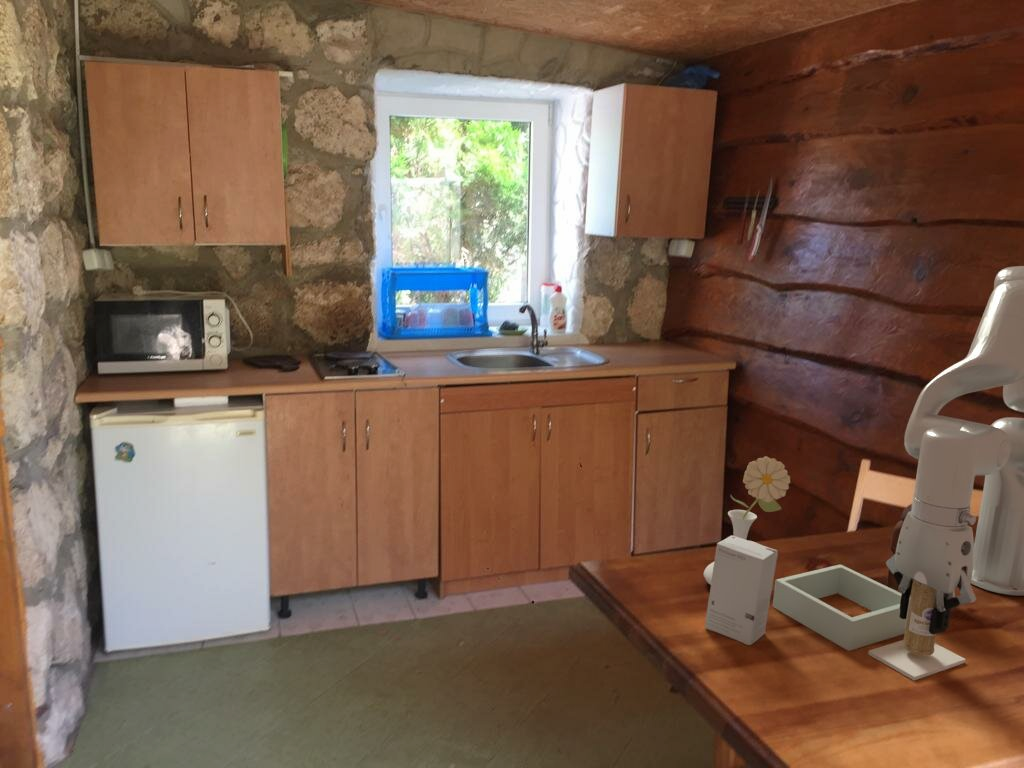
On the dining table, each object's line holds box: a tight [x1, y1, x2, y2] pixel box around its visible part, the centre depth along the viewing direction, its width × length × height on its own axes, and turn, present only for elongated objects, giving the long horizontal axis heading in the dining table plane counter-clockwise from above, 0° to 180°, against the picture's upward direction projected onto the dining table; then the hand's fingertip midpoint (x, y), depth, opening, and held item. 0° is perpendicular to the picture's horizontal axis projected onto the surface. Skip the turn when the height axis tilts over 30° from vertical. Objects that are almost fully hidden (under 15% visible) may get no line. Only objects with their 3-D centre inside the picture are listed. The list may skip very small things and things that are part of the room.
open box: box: [771, 563, 906, 652], centre depth 140 cm, size 16×16×5 cm
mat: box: [867, 639, 966, 681], centre depth 128 cm, size 12×8×1 cm, turn 118°
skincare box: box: [704, 534, 779, 646], centre depth 133 cm, size 8×6×15 cm
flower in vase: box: [703, 456, 791, 586], centre depth 147 cm, size 13×11×25 cm
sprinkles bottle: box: [902, 572, 937, 656], centre depth 127 cm, size 5×5×14 cm
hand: (922, 623), depth 127 cm, fingers closed on sprinkles bottle, 4 cm apart
